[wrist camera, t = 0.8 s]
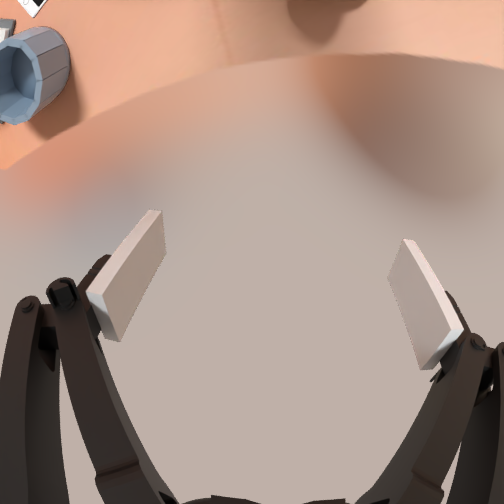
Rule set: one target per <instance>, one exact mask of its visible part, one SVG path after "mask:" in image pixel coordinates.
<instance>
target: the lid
mask: <svg viewBox="0 0 504 504" xmlns="http://www.w3.org/2000/svg"><path fill="white" fill-rule="evenodd" d="M9 30H10V29H8V28H0V42H2V41H3V40H5V39H6V38H8V34H9Z"/></svg>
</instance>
